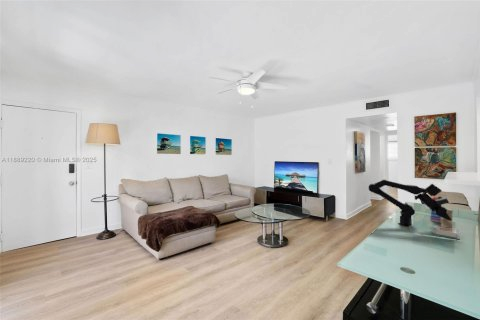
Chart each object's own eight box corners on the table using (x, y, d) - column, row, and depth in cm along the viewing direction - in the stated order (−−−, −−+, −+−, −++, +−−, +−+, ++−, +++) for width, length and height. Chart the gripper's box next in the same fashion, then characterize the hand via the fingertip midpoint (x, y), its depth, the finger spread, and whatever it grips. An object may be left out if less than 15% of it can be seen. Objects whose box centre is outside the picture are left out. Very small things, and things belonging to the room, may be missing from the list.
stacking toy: (438, 220, 166) (438, 196, 166) (447, 223, 158) (447, 198, 158) (427, 220, 167) (427, 195, 166) (435, 223, 159) (435, 197, 158)
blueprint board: (460, 240, 126) (460, 234, 126) (432, 235, 135) (432, 229, 135) (459, 230, 144) (459, 224, 143) (434, 226, 152) (434, 221, 152)
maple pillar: (442, 229, 143) (443, 209, 143) (440, 227, 147) (441, 208, 147) (452, 230, 141) (452, 210, 140) (450, 228, 145) (450, 208, 144)
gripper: (443, 195, 137) (467, 214, 132) (435, 191, 154) (456, 208, 148) (426, 206, 141) (449, 225, 136) (420, 201, 158) (440, 218, 152)
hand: (449, 219), depth 143 cm, fingers open, 6 cm apart
